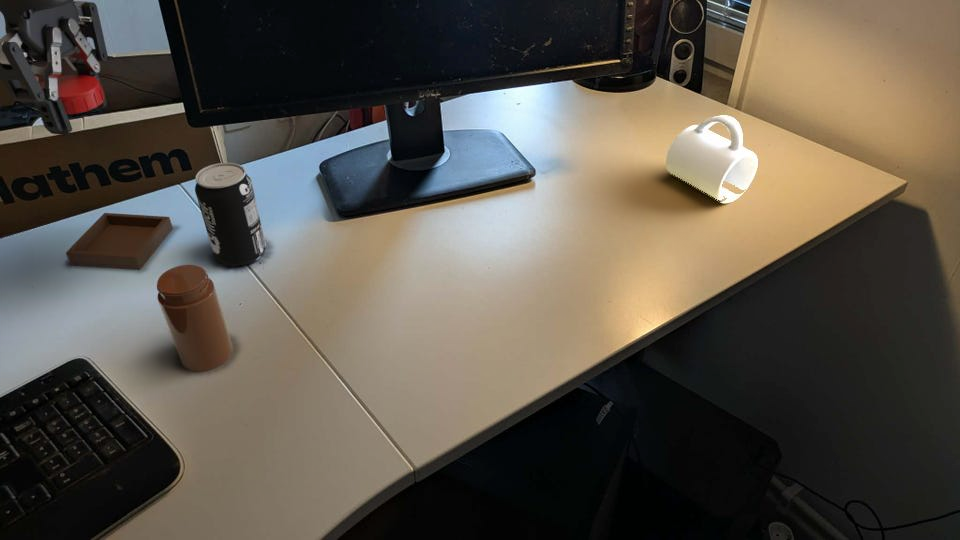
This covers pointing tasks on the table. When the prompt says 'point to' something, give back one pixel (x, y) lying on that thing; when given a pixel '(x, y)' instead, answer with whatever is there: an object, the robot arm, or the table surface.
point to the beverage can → (230, 213)
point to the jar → (194, 317)
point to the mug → (712, 158)
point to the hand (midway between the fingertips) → (79, 118)
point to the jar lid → (79, 93)
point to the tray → (120, 241)
